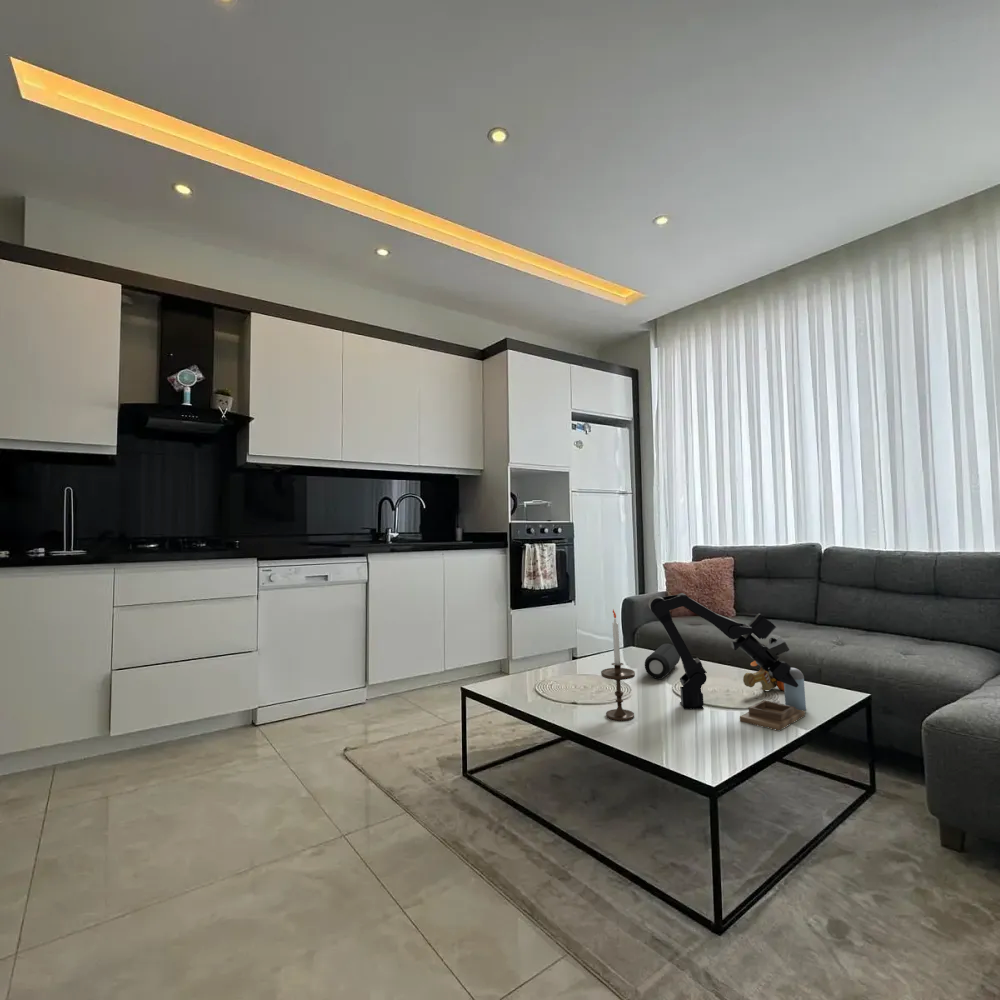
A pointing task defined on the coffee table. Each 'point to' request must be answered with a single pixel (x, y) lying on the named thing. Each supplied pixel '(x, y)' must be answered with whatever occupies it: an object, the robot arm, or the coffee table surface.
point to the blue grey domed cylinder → (795, 691)
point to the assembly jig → (771, 715)
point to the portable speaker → (662, 661)
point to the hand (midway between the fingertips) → (792, 682)
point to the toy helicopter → (762, 679)
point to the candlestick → (618, 679)
